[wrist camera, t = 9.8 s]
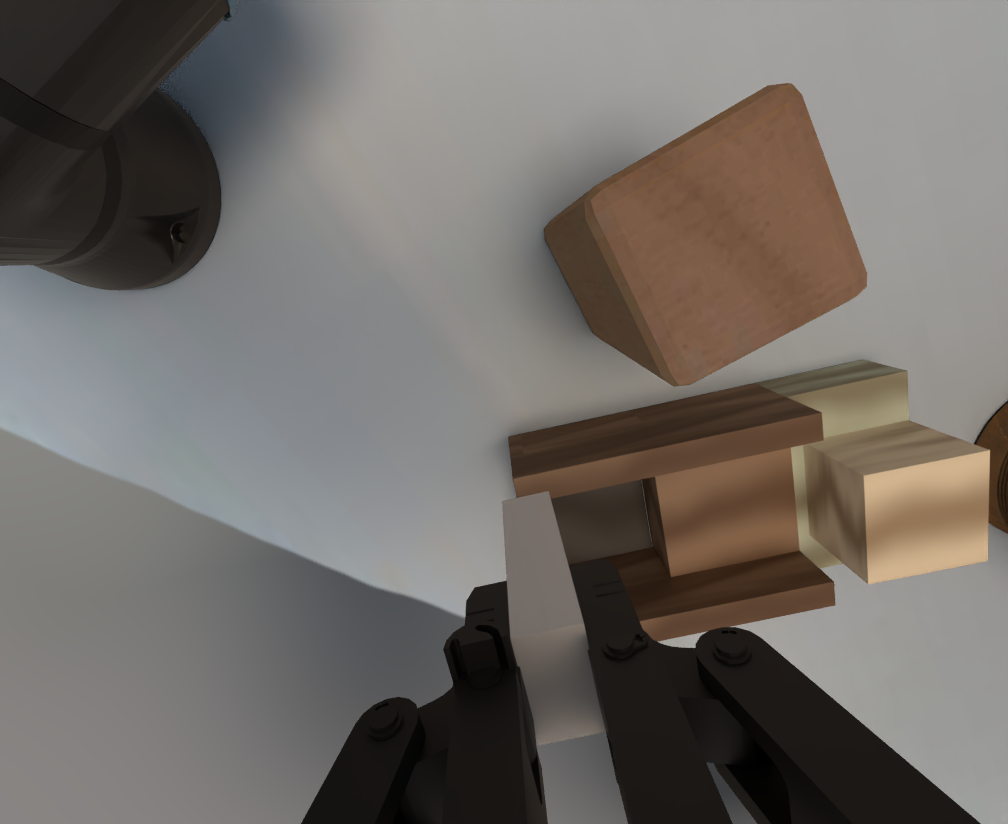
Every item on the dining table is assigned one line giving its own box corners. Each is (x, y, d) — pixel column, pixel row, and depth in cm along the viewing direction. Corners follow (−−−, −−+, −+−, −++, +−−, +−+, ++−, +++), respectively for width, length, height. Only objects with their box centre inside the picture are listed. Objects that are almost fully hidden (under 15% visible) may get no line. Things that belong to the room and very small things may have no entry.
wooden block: (655, 160, 41) (804, 63, 22) (708, 280, 43) (885, 290, 24) (537, 228, 42) (578, 194, 23) (595, 341, 44) (677, 399, 25)
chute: (508, 436, 46) (512, 479, 37) (862, 359, 45) (957, 383, 36) (543, 589, 50) (555, 662, 41) (870, 521, 49) (958, 580, 40)
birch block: (802, 441, 42) (863, 475, 35) (908, 420, 41) (990, 450, 35) (809, 535, 44) (868, 584, 37) (909, 514, 43) (987, 560, 37)
